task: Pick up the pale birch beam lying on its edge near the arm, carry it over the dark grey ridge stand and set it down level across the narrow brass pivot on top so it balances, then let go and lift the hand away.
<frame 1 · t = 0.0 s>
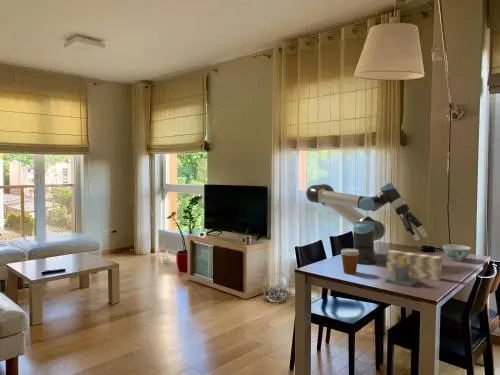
hand: (422, 238, 221), 15 cm above the table, tool tilted 35°, fingers open, 13 cm apart
chinaware: (456, 259, 235), on the table
birch beam: (412, 275, 202), on the table
ridge stand: (402, 281, 190), on the table
disposable coffee cup: (349, 272, 206), on the table
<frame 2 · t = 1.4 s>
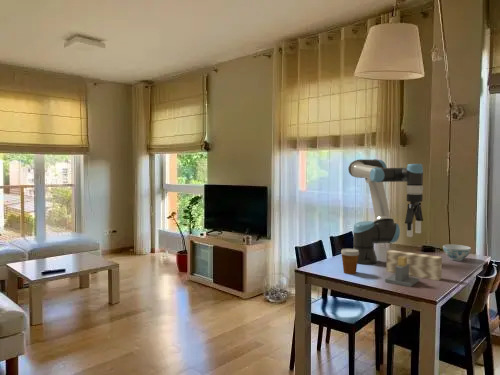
hand: (414, 234, 201), 21 cm above the table, tool pointing down, fingers open, 13 cm apart
nothing on the table moved.
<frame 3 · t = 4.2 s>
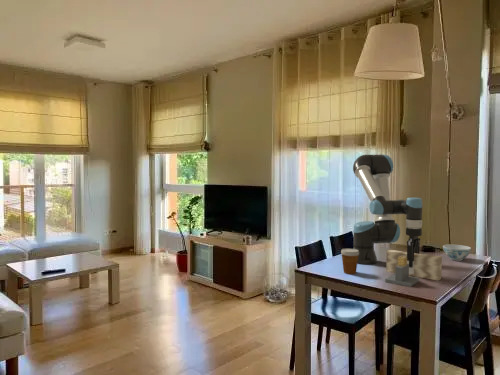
hand: (413, 272, 202), 1 cm above the table, tool pointing down, fingers closed on birch beam, 5 cm apart
birch beam: (412, 274, 202), on the table, touching gripper
everything else where it was.
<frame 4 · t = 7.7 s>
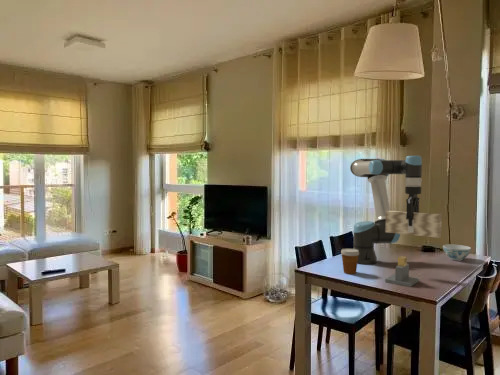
hand: (412, 231, 199), 23 cm above the table, tool pointing down, fingers closed on birch beam, 5 cm apart
birch beam: (412, 234, 199), point 21 cm above the table, touching gripper
everything else where it was.
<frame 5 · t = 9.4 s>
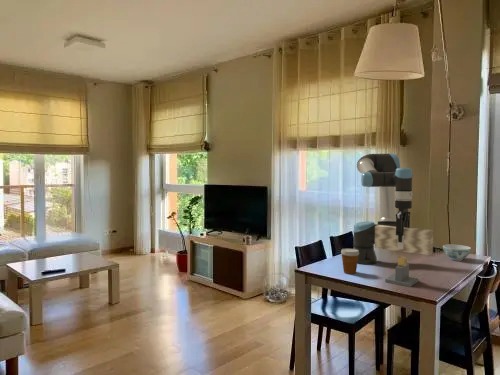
hand: (402, 247, 189), 17 cm above the table, tool pointing down, fingers closed on birch beam, 5 cm apart
birch beam: (402, 250, 189), point 15 cm above the table, touching gripper
everything else where it was.
when the fingers open (14 cm above the table, at t = 11.1 s): birch beam stays where it is, resting on ridge stand.
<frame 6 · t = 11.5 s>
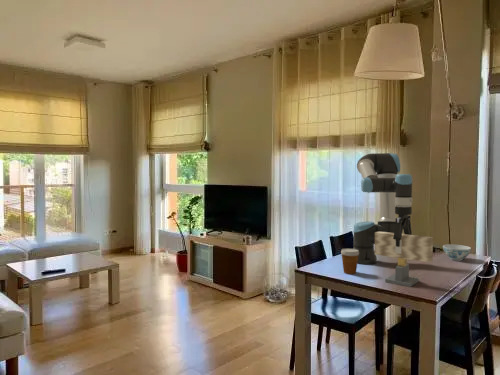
hand: (402, 251, 189), 15 cm above the table, tool pointing down, fingers open, 11 cm apart
birch beam: (402, 257, 189), point 12 cm above the table, touching ridge stand
everything else where it was.
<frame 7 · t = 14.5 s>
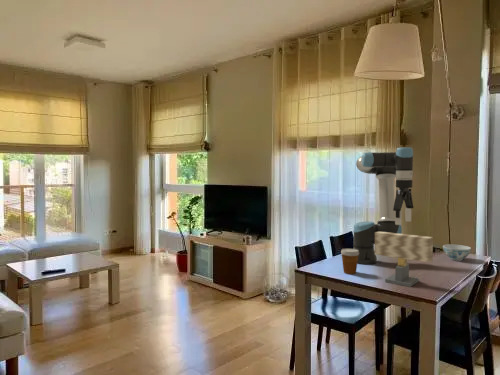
hand: (403, 223, 190), 29 cm above the table, tool pointing down, fingers open, 13 cm apart
nothing on the table moved.
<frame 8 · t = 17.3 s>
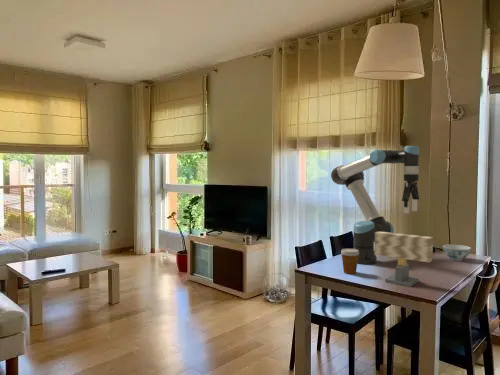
hand: (410, 212, 217), 31 cm above the table, tool pointing down, fingers open, 13 cm apart
nothing on the table moved.
at the end: birch beam 0.0 cm off-centre on the ridge stand, point 12.0 cm above the ridge stand's base; birch beam tilted 0°; the gripper is holding nothing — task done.
